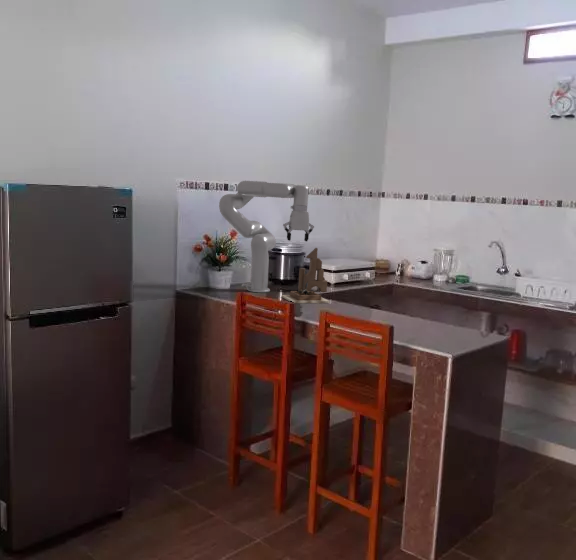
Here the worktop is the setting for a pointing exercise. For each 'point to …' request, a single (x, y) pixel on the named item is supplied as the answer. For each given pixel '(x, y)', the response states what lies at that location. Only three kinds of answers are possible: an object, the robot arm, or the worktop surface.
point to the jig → (305, 297)
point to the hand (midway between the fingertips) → (297, 240)
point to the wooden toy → (313, 274)
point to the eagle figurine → (305, 290)
